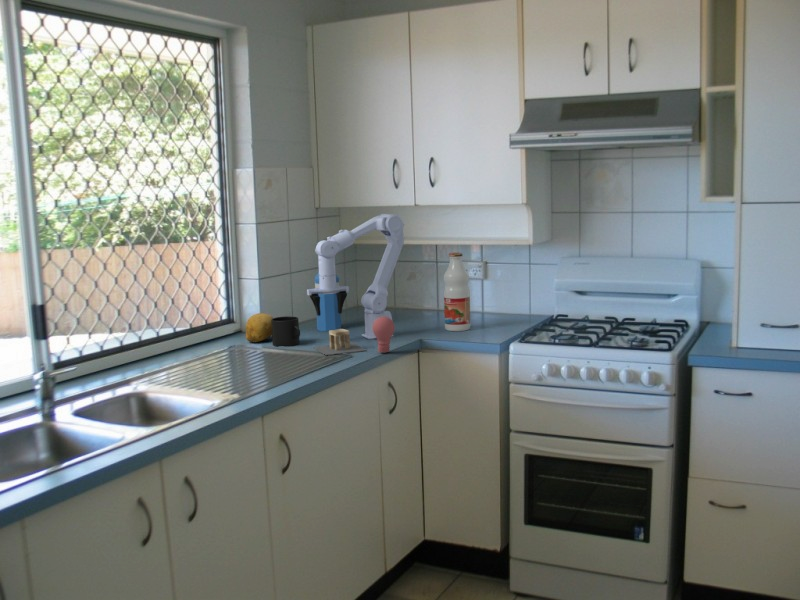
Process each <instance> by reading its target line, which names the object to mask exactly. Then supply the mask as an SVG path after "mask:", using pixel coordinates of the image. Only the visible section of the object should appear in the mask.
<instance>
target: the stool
mask: <svg viewBox="0 0 800 600" xmlns="http://www.w3.org/2000/svg"><path fill="white" fill-rule="evenodd" d="M328 335H329V336H328V338H329V339H328V341H329V345H330V348H331V349H334V348H335V350H336V351H338V350H340V347H345V349H350V343H351V341H350V339H351V338H350V330H349V329H344V328H341V329H337V330H330V331H328ZM339 344H340V345H339Z"/></svg>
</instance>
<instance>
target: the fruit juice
mask: <svg viewBox="0 0 800 600" xmlns="http://www.w3.org/2000/svg"><path fill="white" fill-rule="evenodd" d="M448 258H449V262H448V263H449V264H448V266H447V269H446V271H445V272H444V275H443V281H444V284H445V285H444V290H443V307H444V309H443V310H444V328H445V330H446V331H450V332H463V331H468V330H470V329H471V302H470V301H471V299H470V297H471V295H470V287H469V286H468V285H469V284H468V283H469V280H470V277H469V273H468V271H467V270H466V268H465V266H464V263H463V253H462V252H449V253H448Z"/></svg>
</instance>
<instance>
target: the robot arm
mask: <svg viewBox="0 0 800 600" xmlns="http://www.w3.org/2000/svg"><path fill="white" fill-rule="evenodd" d="M404 227H405V224H404V221H403V220H402V218H401V217H400V216H399V215H398V214H395V213H394V214H390V213H389V214H388V213H381V214H379V215H377V216H374V217H372V218H370V219H368V220H367V221H365V222H363V223H362V224H360V225H358V226H356V227H354V228H353V229H352V230H348V229H340V230H338V233H336V234H334V235H332V236H328V237H326V239H325V240H323V239H322V240H321V241H319V242H317V244H316V247H315V248H314V251H315V254H316V255H317V259H318V272H319V284H320V288H315V287H314V288H309V289H306V295H307V296H309V297H310V300H311V301H312V304H313V306H314V308H315V312H316V316H317V315H318V316H320V297H319V295H318V294H328V293H336V295H337V302H338V313H340V314H342V313H343V306H344V304H345V302H346V298H347V296H348V293H349V292H350V287H349V285H345V286H344V285H341V286H340V285H339V286H337V287H336V275H337V272H336V259H335V258H336V257H335V256H336V255H337V253H339V252H341V251H343V250H345V249H346V248H348V247H350V246H352V245H354V243H355V240H356V239H358V238H360V237H362V236H365V235H367V234H369V233H371V232H374V231H380V232H381V233H382V234H383V236H384V238H385V239H386V241H387V245H386V247H385V250H384V252H383V254H382V258H381V260H380V263H379V266H378V268H377V271H376V273H375V276H374V279H373V280H372V281H373V282H372V283H371V284H370V285H369V286H368V287H367V290H366V292H365V293H364V294H363V295H362V297H361V300H360V303H361V306H362V307H363V308H364V331H365V332H364V333H362V334H361V337H364V338H365V339H367V340H373V339H377V338H376V336H375V334H374V332H373V323H374V321H375V320H376V319H377V318H379V317H388V318H390V319H391V320H392V321H393V317H392V313H391V311H389V310H386V308H387V306H388V296H389V292H388V286H389V284H390V281H391V278H392V276H393V274H394V273H393V272H394V270H395V267H396V265H397V264H398V263H397V262H398V260H399V257H400V254H401V251H402V250H403V249H402V248H403V246H404V243H405V237H404V235H405V234H404ZM326 291H332V292H326ZM320 292H321V293H320ZM392 337H394V334H393V335H392Z"/></svg>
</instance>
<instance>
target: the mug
mask: <svg viewBox="0 0 800 600" xmlns="http://www.w3.org/2000/svg"><path fill="white" fill-rule="evenodd" d="M299 326H300V321H299V317H297V316H290V315H289V316H288V315H287V316H286V315H285V316H278V317H273V319H271V327H272V335H271V337H272V338H271V341H272V346H274V347H278V346H288V347H293V346H294V345H295V346H297V345H299V344H301V342H300V340H301V339H300V337H301V330H300V327H299Z"/></svg>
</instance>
